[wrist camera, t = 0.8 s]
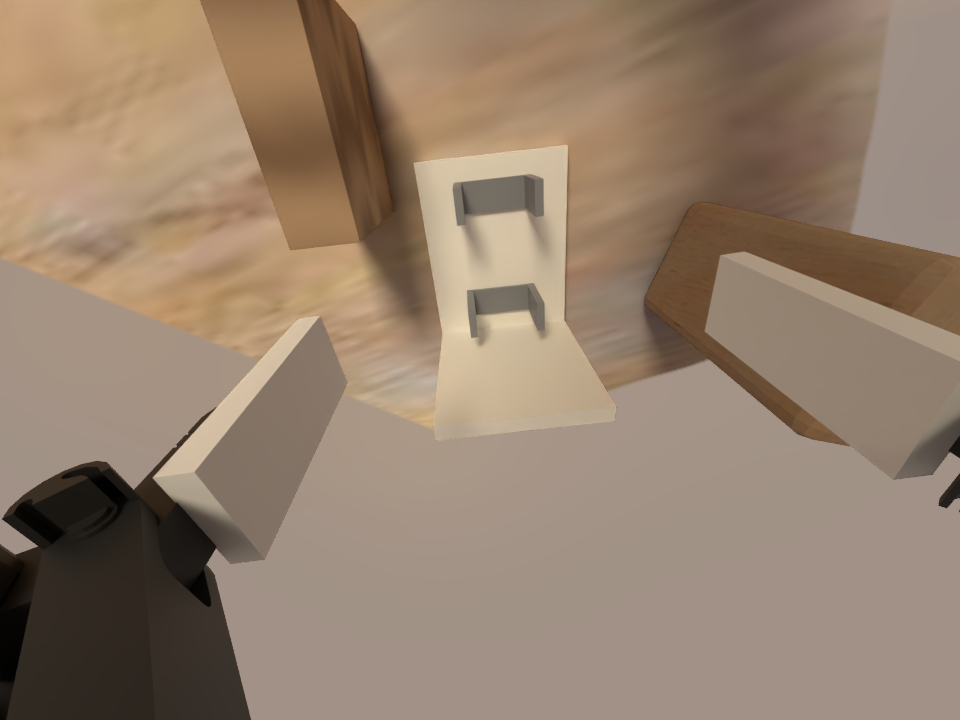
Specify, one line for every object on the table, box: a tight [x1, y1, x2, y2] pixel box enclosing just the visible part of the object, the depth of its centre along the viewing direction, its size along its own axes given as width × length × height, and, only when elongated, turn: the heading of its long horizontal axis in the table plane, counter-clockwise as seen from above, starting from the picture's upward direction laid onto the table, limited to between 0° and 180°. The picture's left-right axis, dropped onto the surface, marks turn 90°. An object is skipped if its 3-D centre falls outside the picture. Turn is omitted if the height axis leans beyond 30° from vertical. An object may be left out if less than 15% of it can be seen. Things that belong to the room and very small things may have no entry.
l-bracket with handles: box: [414, 145, 617, 441], centre depth 27 cm, size 16×12×15 cm
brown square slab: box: [200, 0, 394, 250], centre depth 23 cm, size 12×4×12 cm, turn 6°
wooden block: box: [645, 202, 960, 453], centre depth 26 cm, size 10×10×20 cm
